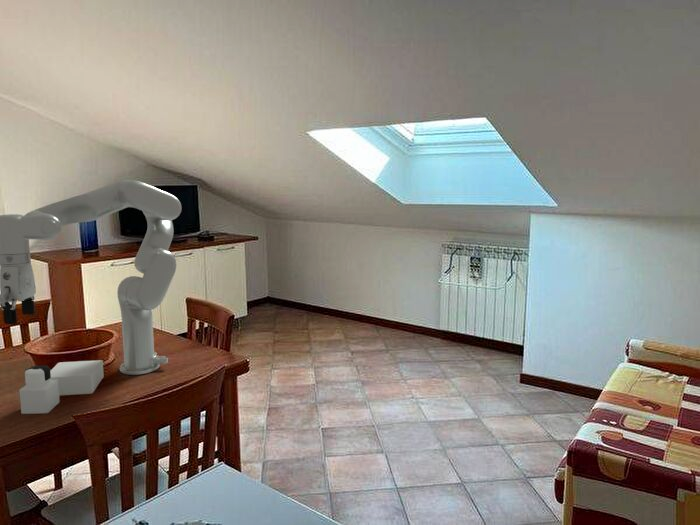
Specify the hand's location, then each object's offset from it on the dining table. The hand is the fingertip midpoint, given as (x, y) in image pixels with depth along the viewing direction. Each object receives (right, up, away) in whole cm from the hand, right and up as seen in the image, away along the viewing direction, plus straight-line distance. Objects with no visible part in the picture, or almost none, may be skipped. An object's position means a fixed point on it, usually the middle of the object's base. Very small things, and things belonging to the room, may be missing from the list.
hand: (20, 318), depth 147 cm
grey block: (+8, -23, +14) cm, 28 cm away
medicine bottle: (+7, -25, -1) cm, 26 cm away
